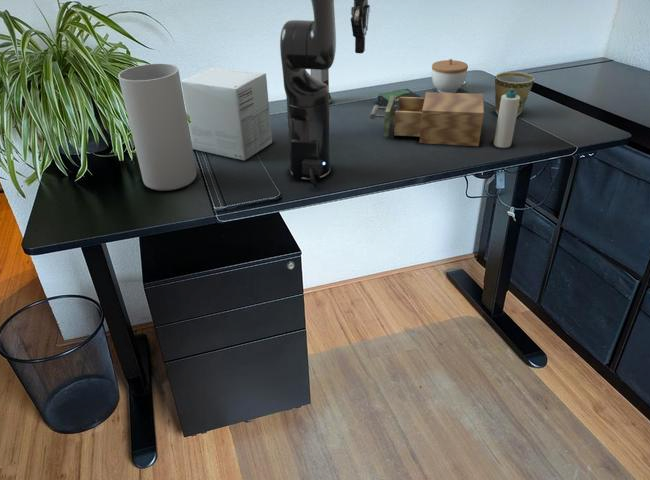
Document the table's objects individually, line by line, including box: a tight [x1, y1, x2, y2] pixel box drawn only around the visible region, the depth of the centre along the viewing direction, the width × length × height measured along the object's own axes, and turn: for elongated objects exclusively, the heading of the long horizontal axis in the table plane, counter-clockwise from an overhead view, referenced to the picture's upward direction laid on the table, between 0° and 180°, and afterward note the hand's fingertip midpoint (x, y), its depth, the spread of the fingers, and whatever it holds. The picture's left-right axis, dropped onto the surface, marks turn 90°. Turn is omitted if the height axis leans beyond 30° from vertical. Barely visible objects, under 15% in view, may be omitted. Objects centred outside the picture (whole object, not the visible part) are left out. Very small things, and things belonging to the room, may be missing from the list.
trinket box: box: [431, 58, 469, 93], centre depth 169 cm, size 11×11×9 cm
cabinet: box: [418, 91, 485, 147], centre depth 141 cm, size 15×14×9 cm
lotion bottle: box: [493, 89, 520, 149], centre depth 132 cm, size 4×4×14 cm
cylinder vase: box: [117, 63, 197, 192], centre depth 122 cm, size 12×12×25 cm
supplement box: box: [180, 67, 273, 161], centre depth 138 cm, size 17×13×18 cm
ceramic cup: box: [494, 71, 535, 117], centre depth 151 cm, size 13×10×10 cm
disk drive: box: [377, 88, 423, 115], centre depth 160 cm, size 10×3×15 cm
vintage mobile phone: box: [309, 68, 332, 104], centre depth 160 cm, size 4×5×25 cm
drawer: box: [369, 95, 425, 138], centre depth 144 cm, size 18×13×7 cm
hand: (359, 52), depth 137 cm, fingers closed
